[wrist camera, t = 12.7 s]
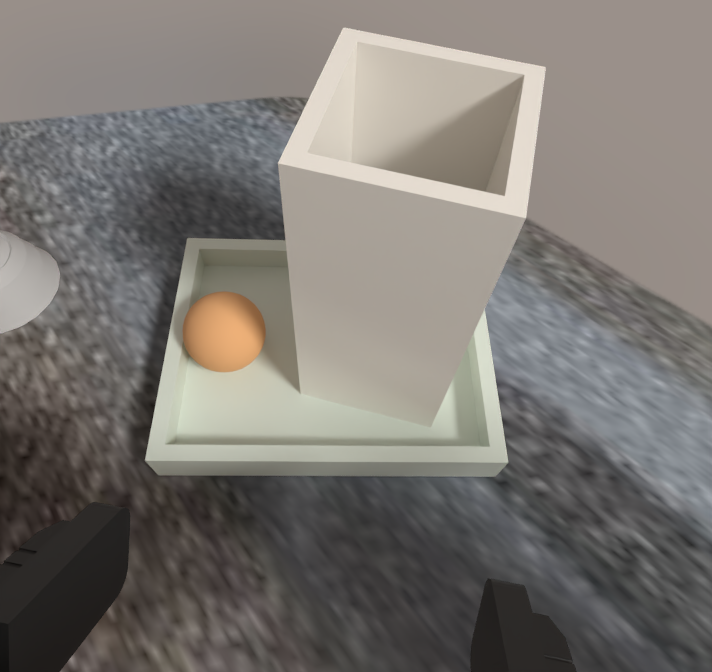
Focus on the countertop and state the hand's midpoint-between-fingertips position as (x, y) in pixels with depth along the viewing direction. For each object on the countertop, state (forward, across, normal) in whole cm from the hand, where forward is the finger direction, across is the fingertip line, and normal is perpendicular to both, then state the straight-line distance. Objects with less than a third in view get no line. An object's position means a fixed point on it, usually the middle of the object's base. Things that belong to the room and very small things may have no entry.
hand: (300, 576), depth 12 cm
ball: (+10, -6, +2) cm, 12 cm away
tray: (+12, -2, +1) cm, 12 cm away
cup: (+12, +1, +2) cm, 12 cm away
